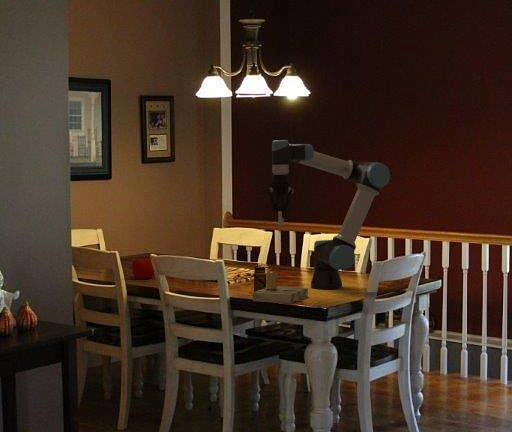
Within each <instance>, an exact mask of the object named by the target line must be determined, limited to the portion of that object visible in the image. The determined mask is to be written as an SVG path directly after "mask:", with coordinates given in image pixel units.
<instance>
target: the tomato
mask: <svg viewBox="0 0 512 432" xmlns="http://www.w3.org/2000/svg"><path fill="white" fill-rule="evenodd" d="M150 258H151V257H147V256H145V257H144V256H142V257H141V256H139V257H137V258H135V259H134V260H133V261H132V263H131V272H132V274H133V276H134V278H136V279H139V280H144V279H145V278H147V279H151V278H153V277H154V276H155V275H154V270H153V266H152V263H151V259H152V258H151V259H150ZM145 280H146V279H145Z"/></svg>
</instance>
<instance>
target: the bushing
mask: <svg viewBox="0 0 512 432" xmlns="http://www.w3.org/2000/svg"><path fill="white" fill-rule="evenodd" d="M277 276H278V275H277V271H267V272H266V282H267V290H268V291H276V290H277V286H278V285H277V284H278V281H277V280H278V279H277Z"/></svg>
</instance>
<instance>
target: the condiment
mask: <svg viewBox="0 0 512 432" xmlns="http://www.w3.org/2000/svg"><path fill="white" fill-rule="evenodd" d="M265 288H267V272H266V267H265V266H255V267H254V272H253V290H250V291H254V292H255V291H258V290H261V289H265Z"/></svg>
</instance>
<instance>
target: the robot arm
mask: <svg viewBox="0 0 512 432" xmlns="http://www.w3.org/2000/svg"><path fill="white" fill-rule="evenodd" d="M271 144H272V145H271V156H272V157H271V159H272V161H271V163H272V166H271V167H272V168H271V169H272V177H271V178H272V181H271V182H272V185H271V187H270V188H267V190H266V191H267V193H268V195H269V200H270V202H271V207H272V208H271V209H272V210H274V211H276V218H277V219H278V221H277V222H278V223H277V225H278V227H279V226H285V219H286V211H288V210H290V207H291V202H292V199H293V198H292V197H293V194H294V193H295V189H294V188H291V185H290V175H289V173H290V167H289V163H290V162H289V161H291V162H293V163H298V164H302V165H304V166H308V167H311V168H314V169H318V170H321V171H324V172H327V173H331V174H334V175H338V176H339V177H340V176H341V177H342V178H343V179H344V180H347V181H349V182H352V183H355V184H356V187H357V190H356V192H355V195H354V197H353V200H352V201H351V204H350V206H349V209H348V211H347V213H346V216H345V218H344V221H343V223H342V225H341V226H340V230H339V232H338V234H337V235H335V236H333V237H332V239H323V240H322V239H321V240H320V239H319V240H315V241H314V245H313V260H314V261H313V262H314V263H313V265H314V267H313V270H314V271H313V275H312V278H311V282H310V288H311V289H315V290H335V289H336V290H338V289H341V288H343V281H342V279H341V278H342V277H341V275H340V273H339V271H340V270H341V271H343V270H347V269H350V267H352V265H354V263H355V260H356V254H355V251H356V248H357V245H356V241H357V238H358V236H359V234H360V231H361V228H362V226H363V223H364V222H365V220H366V217H367V215H368V213H369V210H370V208H371V206H372V203H373V201H374V199H375V197H376V196H379V194H380V192H381V191H382V188H384V187H386V186H387V185H388V184H389V181H390V179H391V173H390V169H389V168H388V166H387V165H385V164H384V163H382V162H378V161H373V162H372V161H369V162H367V161H355V160H351V159H349V160H344V159H342V158H339V157H334V156H331V155H328V154H325V153H321V152H318V151H315V149H314V146H313V145H312V144H309V143H307V144H306V143H295V144H293V143H290V142H289V140H287V139H281V140H280V139H279V140H276V139H275V140H273V141H272V143H271ZM287 192H288V193H287Z"/></svg>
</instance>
